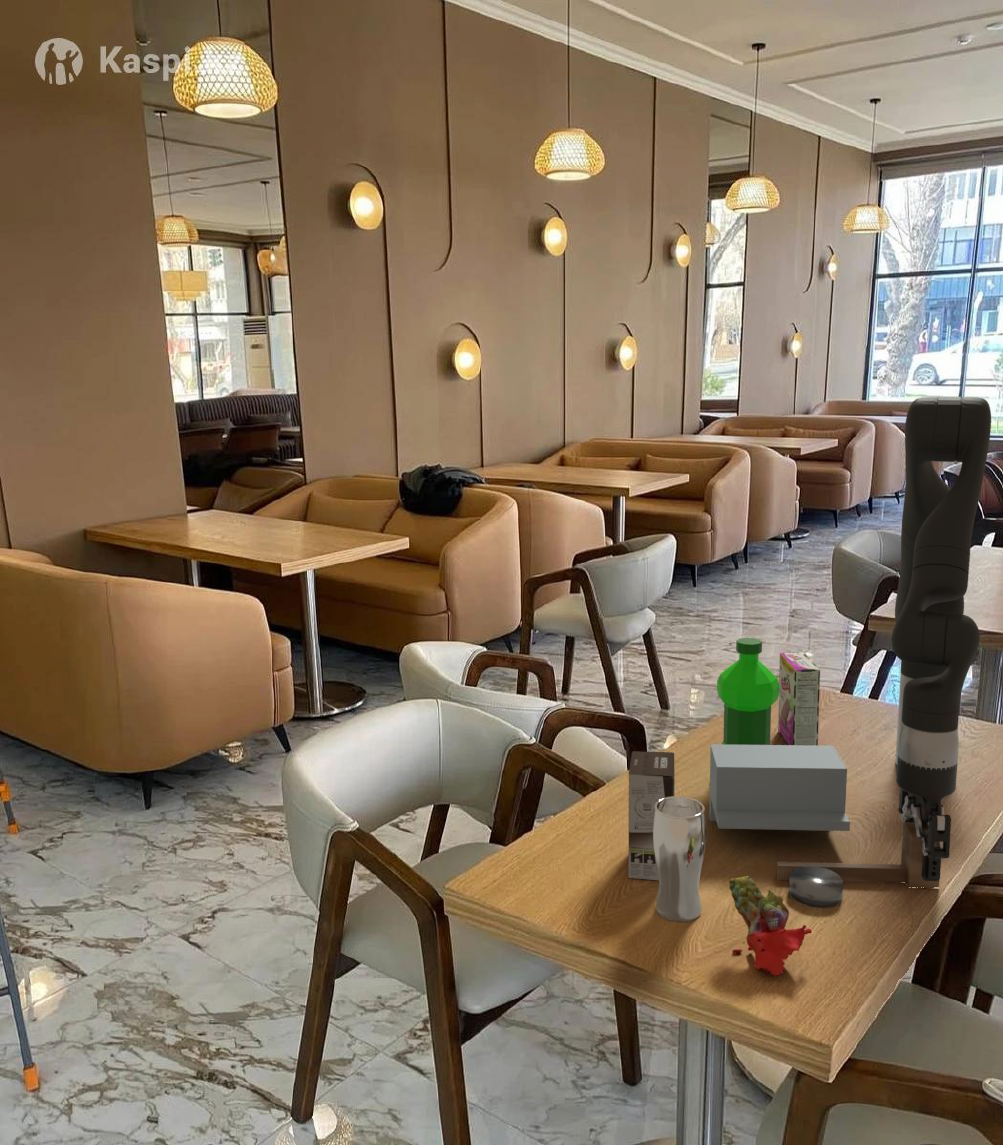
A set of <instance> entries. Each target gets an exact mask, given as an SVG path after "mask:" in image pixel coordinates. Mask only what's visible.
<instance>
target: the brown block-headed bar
mask: <svg viewBox="0 0 1003 1145" xmlns="http://www.w3.org/2000/svg"><path fill="white" fill-rule="evenodd" d="M902 824H903V825H902V840H901V857H900V858H901V859H900V864H893V863H892V864H890V863H889V864H887V863H884V864H883V863H854V862H853V863H851V862H850V863H849V862H848V863H847V862H846V863H845V862H843V863H842V862H806V861H804V862H803V861H776V874H775V876H776V878H777V879H776V880H777V881H789V877H790V873H791V872H792V871H793V870H794V869H796V868H799V867H804V866H815V867H822V868H826V869H829V870H831V871H833V872H835V873H837V874H838V875H839V876H840V877H841V878H842V880H843V883H844V882H845V883H848V882H849V883H873V882H887V883H886V884H889V883H888V882H899V883H898V884H901V883H900V882H905V883H904V884H905V885H906V884H907V885H908V887H911V888H912V887H916V888H917V887H918V888H921V887H922V888H923V887H924V888H934V887H939V888H940V879H939V880H938V881H925V880H924V879H923V878H922V876H921V874H922V859H923V851H922V850H923V849H922V842H921V839H920V838H918V837H917V833H916V826H915V822H902ZM923 830H924V831H928V829H923ZM927 840H928V838H927ZM934 847H937V842H935V843H934ZM907 885H906V886H907ZM908 887H907V888H908Z"/></svg>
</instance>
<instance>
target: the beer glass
mask: <svg viewBox="0 0 1003 1145" xmlns="http://www.w3.org/2000/svg"><path fill="white" fill-rule="evenodd" d="M654 807H655V809H654V820H653V848H654V855H655V861H656V866H657V872H658V878H659V880H658V891H657V897H656V901H655V910H656V913H657V914H659V916H661V917H662V918H664V919H665V920H668V921H672V922H676V923H677V922H678V923H679V922H680V923H684V922H685V923H686V922H691V921H694V920H696V919H697V918H699V917H700V916H701V913H702V911H703V910H702V908H703V907H702V902H701V898H700V879H701V874H702V870H703V869H702V868H703V863H704V859H705V855H706V854H705V853H706V846H707V826H706V812H705V810H706V808H705V805H704V804H703V803H702V802H701V801H699V800H697V799H696V798H692V797H687V796H682V795H681V796H680V795H674V796H671V797H665V798H662V799H660V800H658V801H657V802H656V803H655V805H654Z"/></svg>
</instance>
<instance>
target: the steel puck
mask: <svg viewBox="0 0 1003 1145" xmlns="http://www.w3.org/2000/svg"><path fill="white" fill-rule="evenodd" d="M788 881H789V882H788V883H789V884H788V885H789V886H788V893H789V895H790V897H791V898H792V899H793V900H794V901H796V902H797V903H799V904H801V905H804V906H807V907H810V908H817V909H828V908H832V907H833V908H834V907H835V906H838V905H839V904H840V903H841V902H842V901H843V889H844V888H843V887H844V885H843V884H844V882H843V880H842V878H841V877H840V876H839V875H838V874H837V873H835V872H833V871H831V870H829V869H826V868H822V867H815V866H804V867H799V868H796V869H794V870H793V871H792V872H791V873H790V877H789V880H788Z"/></svg>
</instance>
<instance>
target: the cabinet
mask: <svg viewBox="0 0 1003 1145" xmlns="http://www.w3.org/2000/svg"><path fill="white" fill-rule="evenodd" d="M709 748H710V755H709V762H710V763H709V815H708V816H709V821H710V822H716V826H717V828H718V829H725V830H726V829H727V830H729V829H730V830H732V829H735V830H737V829H738V830H770V831H771V830H774V831H775V830H778V831H779V830H780V831H781V830H782V831H784V830H785V831H823V832H824V831H828V832H829V831H830V832H831V831H837V832H850V828H851V821H850V819H849V817H848V815H847V813H846V800H847V779H848V768H847V766H846V765H845V762H844V761H843V759H842V758H841V756H840V755H839V753H838V751H837V750H836V748H835V746H834V745H818V746H815V745H788V744H784V745H783V744H776V745H775V744H770V745H722V743H721V744H719V743H718V744H714V743H713V744H710V747H709Z"/></svg>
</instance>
